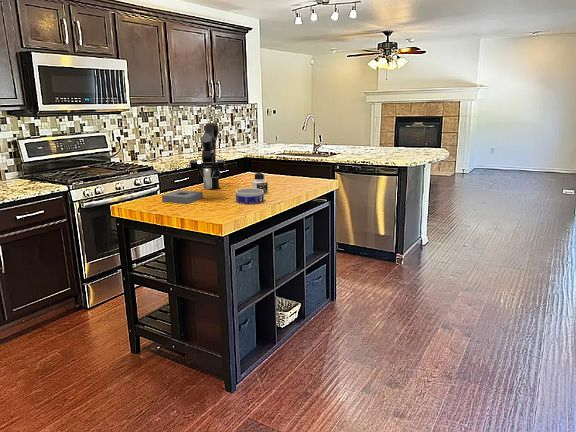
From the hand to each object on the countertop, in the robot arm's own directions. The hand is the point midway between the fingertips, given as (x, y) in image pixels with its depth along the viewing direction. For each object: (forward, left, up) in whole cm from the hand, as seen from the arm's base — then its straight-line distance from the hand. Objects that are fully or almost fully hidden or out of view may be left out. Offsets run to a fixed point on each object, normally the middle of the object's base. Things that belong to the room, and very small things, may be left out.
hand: (207, 176), depth 240 cm
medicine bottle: (-34, -3, -14) cm, 37 cm away
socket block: (+11, -10, -13) cm, 20 cm away
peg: (-1, -1, -7) cm, 7 cm away
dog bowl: (-19, +13, -14) cm, 27 cm away
